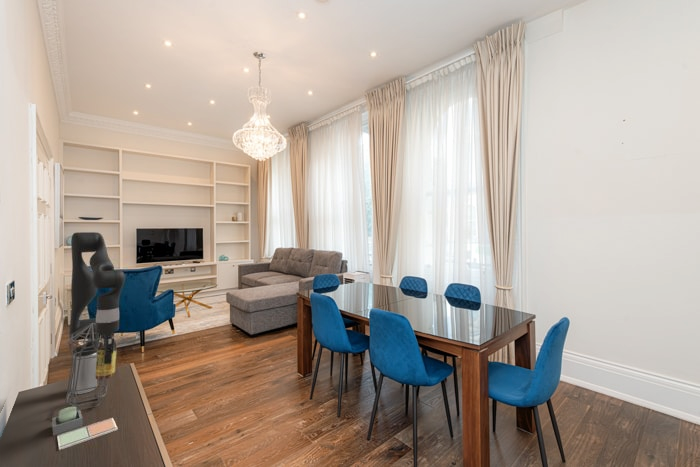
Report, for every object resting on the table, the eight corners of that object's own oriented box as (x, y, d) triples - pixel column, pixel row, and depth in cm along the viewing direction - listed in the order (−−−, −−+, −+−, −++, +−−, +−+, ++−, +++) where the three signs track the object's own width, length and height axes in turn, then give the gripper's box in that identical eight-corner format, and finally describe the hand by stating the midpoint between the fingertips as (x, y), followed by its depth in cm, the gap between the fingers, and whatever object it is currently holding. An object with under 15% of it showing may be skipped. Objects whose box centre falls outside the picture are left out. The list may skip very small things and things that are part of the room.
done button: (58, 420, 117) (58, 410, 117) (75, 415, 121) (75, 405, 121) (58, 426, 114) (59, 415, 114) (76, 420, 117) (77, 410, 117)
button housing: (52, 426, 117) (52, 418, 117) (80, 418, 123) (80, 409, 123) (53, 435, 111) (53, 426, 112) (82, 426, 117) (82, 418, 117)
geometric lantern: (64, 403, 134) (70, 321, 136) (110, 393, 143) (115, 317, 145) (59, 419, 121) (66, 329, 123) (110, 407, 131) (115, 324, 133)
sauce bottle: (91, 381, 121) (93, 330, 122) (100, 374, 127) (101, 326, 128) (111, 379, 123) (113, 329, 123) (118, 373, 129) (120, 325, 129)
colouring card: (57, 437, 111) (57, 434, 111) (112, 419, 122) (112, 417, 122) (59, 450, 104) (59, 448, 104) (117, 429, 115) (117, 427, 115)
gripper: (93, 317, 128) (91, 358, 127) (98, 324, 118) (97, 368, 117) (115, 314, 133) (114, 353, 133) (122, 321, 123) (121, 363, 123)
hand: (106, 360), depth 125 cm, fingers closed on sauce bottle, 6 cm apart
